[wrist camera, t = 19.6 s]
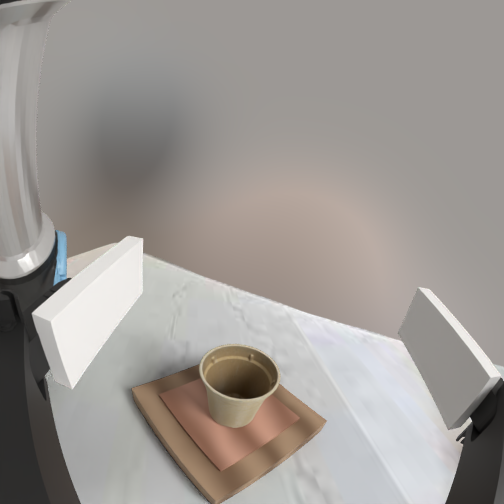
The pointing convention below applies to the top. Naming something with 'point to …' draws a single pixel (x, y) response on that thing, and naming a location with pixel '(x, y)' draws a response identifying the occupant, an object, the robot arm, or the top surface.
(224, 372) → the flower pot
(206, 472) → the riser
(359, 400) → the top surface
